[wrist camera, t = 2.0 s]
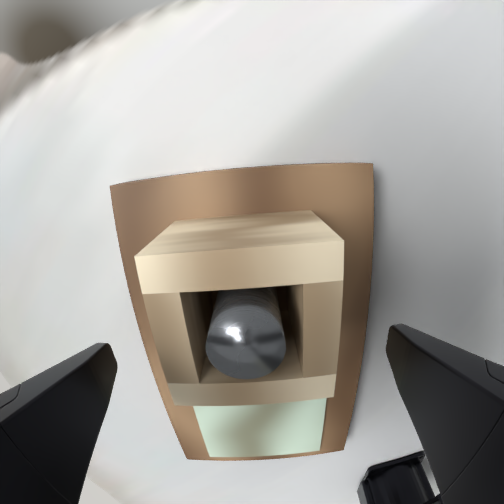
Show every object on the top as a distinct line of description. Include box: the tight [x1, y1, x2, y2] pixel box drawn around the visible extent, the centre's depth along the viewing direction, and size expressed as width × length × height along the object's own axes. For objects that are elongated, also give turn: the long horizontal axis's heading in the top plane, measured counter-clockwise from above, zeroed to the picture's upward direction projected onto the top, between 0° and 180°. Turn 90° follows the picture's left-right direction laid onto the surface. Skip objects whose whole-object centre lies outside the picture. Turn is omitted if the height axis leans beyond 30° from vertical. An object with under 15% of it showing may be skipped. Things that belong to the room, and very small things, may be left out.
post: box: [206, 286, 286, 379], centre depth 11 cm, size 2×2×6 cm
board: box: [110, 163, 374, 461], centre depth 16 cm, size 12×20×2 cm, turn 4°
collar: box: [134, 210, 344, 406], centre depth 11 cm, size 6×6×5 cm
